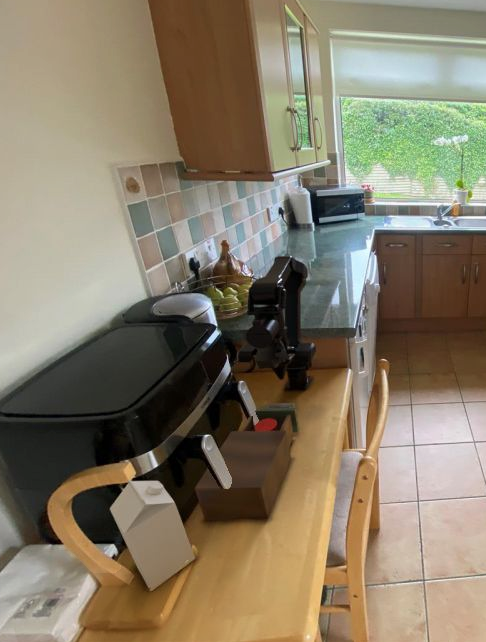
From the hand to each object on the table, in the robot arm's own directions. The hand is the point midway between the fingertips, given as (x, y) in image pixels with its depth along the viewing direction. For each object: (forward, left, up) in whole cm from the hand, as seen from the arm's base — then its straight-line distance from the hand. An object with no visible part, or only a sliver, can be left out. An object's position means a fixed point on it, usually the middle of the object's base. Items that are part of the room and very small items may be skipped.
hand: (282, 379), depth 101 cm
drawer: (+13, 0, -11) cm, 17 cm away
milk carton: (+41, -9, -12) cm, 44 cm away
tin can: (+14, 0, -10) cm, 17 cm away
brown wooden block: (+25, 0, -12) cm, 28 cm away
